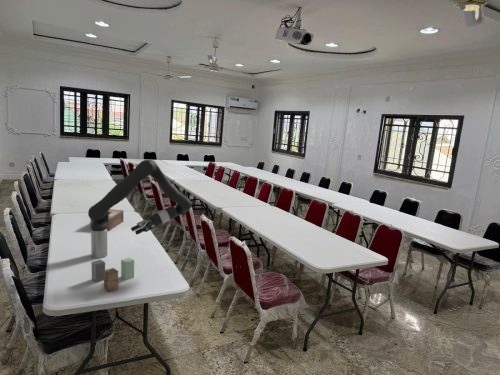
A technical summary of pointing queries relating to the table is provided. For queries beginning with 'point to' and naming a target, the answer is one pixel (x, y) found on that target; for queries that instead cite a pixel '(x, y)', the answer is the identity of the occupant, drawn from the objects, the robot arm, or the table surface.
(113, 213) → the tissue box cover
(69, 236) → the table surface
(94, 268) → the charcoal block
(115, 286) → the walnut block
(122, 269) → the sage block
